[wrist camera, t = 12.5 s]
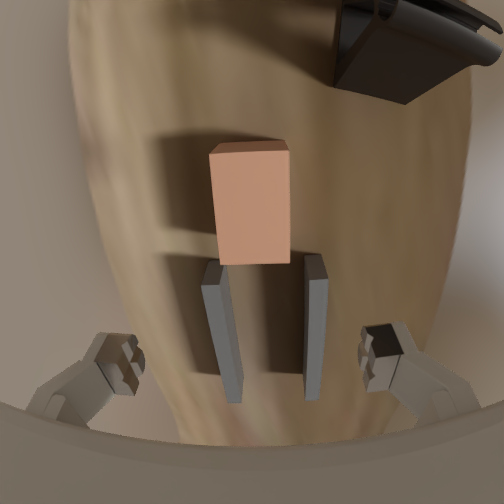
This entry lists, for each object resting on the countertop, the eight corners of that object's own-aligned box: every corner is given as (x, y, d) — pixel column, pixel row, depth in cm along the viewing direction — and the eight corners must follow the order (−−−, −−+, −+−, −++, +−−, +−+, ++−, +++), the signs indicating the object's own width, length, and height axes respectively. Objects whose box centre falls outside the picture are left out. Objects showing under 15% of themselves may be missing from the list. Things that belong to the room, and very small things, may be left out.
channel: (315, 373, 35) (318, 399, 31) (231, 376, 36) (228, 403, 32) (321, 254, 28) (328, 278, 24) (208, 260, 28) (200, 285, 25)
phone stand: (343, -13, 17) (398, -79, 6) (412, 8, 17) (500, -27, 6) (332, 87, 21) (390, 82, 10) (402, 105, 21) (495, 122, 10)
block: (286, 233, 27) (290, 262, 23) (227, 235, 27) (220, 264, 23) (284, 140, 23) (289, 150, 19) (219, 142, 24) (208, 154, 19)
